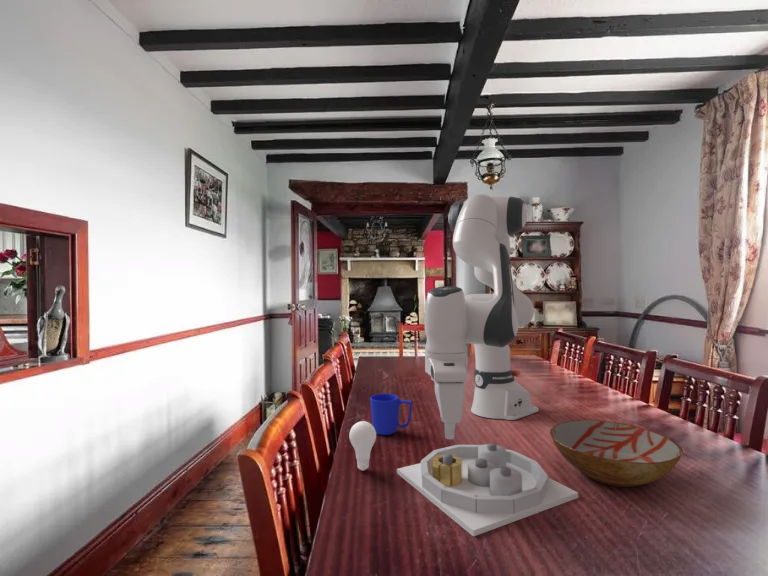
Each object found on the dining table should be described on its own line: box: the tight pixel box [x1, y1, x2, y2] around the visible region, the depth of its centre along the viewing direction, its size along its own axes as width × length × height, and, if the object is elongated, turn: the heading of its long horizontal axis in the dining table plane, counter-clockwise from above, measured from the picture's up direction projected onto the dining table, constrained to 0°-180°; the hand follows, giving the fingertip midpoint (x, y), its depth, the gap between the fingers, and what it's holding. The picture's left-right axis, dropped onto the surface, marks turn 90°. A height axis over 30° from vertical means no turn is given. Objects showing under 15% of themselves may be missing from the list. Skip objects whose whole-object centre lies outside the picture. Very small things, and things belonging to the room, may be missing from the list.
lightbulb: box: [348, 420, 377, 472], centre depth 92 cm, size 6×6×11 cm
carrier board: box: [396, 442, 579, 537], centre depth 85 cm, size 26×26×6 cm
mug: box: [369, 393, 413, 436], centre depth 116 cm, size 8×12×10 cm
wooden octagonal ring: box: [432, 454, 463, 487], centre depth 85 cm, size 6×6×4 cm
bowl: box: [549, 419, 683, 488], centre depth 89 cm, size 25×25×8 cm
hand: (447, 429), depth 85 cm, fingers open, 8 cm apart
